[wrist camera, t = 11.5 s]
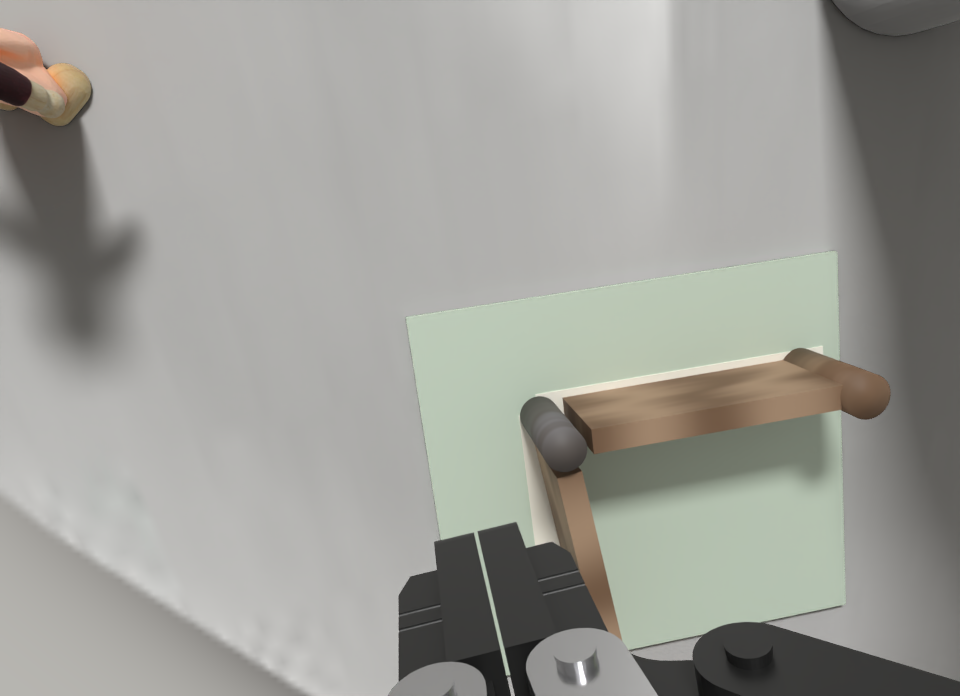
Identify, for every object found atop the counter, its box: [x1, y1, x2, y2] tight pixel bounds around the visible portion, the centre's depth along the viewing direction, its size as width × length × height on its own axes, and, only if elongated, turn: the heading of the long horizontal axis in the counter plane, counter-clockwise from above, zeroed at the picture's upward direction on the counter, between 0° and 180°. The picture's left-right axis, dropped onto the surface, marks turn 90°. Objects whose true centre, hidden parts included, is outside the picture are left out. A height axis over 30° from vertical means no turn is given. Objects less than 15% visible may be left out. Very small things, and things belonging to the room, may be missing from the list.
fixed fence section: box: [563, 348, 890, 454], centre depth 37 cm, size 14×2×6 cm, turn 98°
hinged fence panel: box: [520, 396, 622, 640], centre depth 37 cm, size 16×2×6 cm, turn 14°
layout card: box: [406, 251, 846, 676], centre depth 41 cm, size 23×21×1 cm
